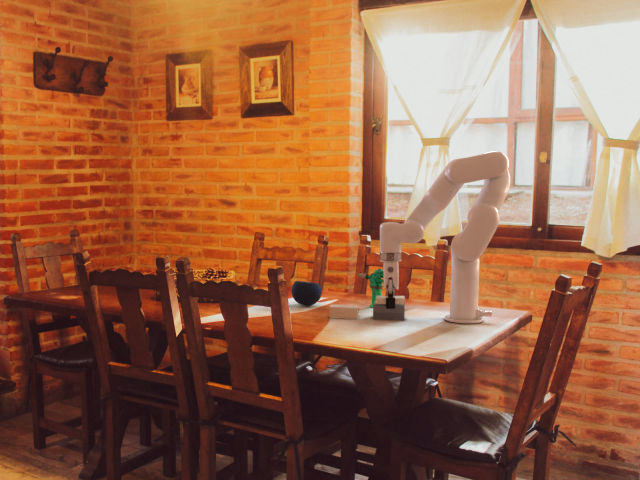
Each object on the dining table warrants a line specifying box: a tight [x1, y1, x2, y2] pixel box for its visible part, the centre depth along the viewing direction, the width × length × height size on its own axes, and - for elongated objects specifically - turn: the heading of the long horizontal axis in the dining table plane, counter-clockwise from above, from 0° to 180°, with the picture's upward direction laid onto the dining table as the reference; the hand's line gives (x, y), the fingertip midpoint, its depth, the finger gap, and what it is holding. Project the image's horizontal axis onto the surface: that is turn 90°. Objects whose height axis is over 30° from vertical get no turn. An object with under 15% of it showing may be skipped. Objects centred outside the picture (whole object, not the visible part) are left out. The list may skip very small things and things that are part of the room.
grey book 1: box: [372, 303, 406, 313], centre depth 269 cm, size 11×5×2 cm, turn 78°
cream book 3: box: [376, 295, 406, 305], centre depth 268 cm, size 10×6×2 cm, turn 78°
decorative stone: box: [291, 280, 323, 307], centre depth 294 cm, size 12×12×10 cm
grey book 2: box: [372, 311, 405, 321], centre depth 269 cm, size 11×5×2 cm, turn 78°
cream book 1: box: [329, 303, 359, 314], centre depth 272 cm, size 10×6×2 cm, turn 79°
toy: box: [358, 268, 384, 309], centre depth 288 cm, size 26×6×15 cm, turn 22°
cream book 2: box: [328, 312, 359, 320], centre depth 272 cm, size 10×6×2 cm, turn 78°
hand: (390, 306), depth 268 cm, fingers closed on cream book 3, 6 cm apart
